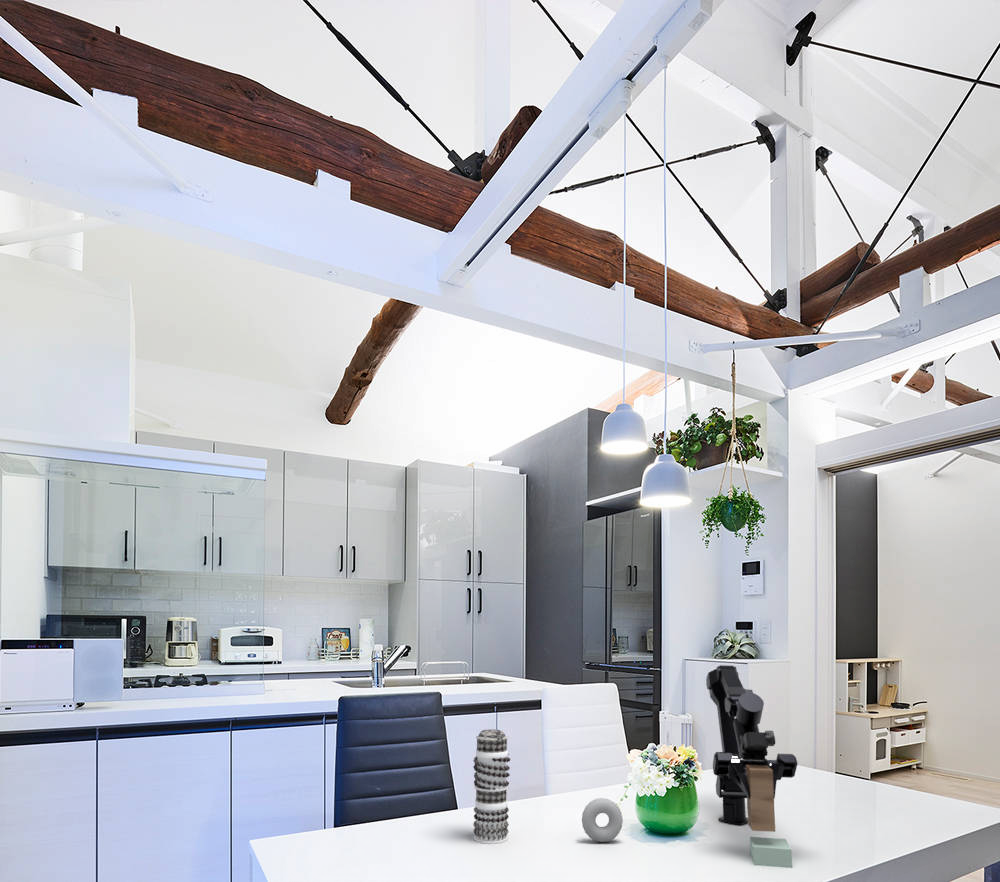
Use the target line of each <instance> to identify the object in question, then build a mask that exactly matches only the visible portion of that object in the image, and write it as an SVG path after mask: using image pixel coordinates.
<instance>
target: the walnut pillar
mask: <svg viewBox="0 0 1000 882" xmlns="http://www.w3.org/2000/svg"><path fill="white" fill-rule="evenodd" d="M746 780H747V783H748V786H749V790H750V799H748V797H747V798H746V805H747V807H746V810H747V813H746V814H747V818H748V822H747V825H748V827H749V828H750V830H752V831H754V832H772V833H773V832H776V816H775V798H774V789H773V770H772V769H771V768H770V767H769V766H764V765H746Z"/></svg>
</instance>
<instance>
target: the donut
mask: <svg viewBox="0 0 1000 882" xmlns="http://www.w3.org/2000/svg"><path fill="white" fill-rule="evenodd" d="M600 814H605V815H607V817H608V823H607V824H606V825H604V826H600V825H598V824H597V822H596V818H597V816H599V815H600ZM623 820H624V819H623V815H622V811H621V809H620V806H618V805H617V804H616V803H615V802H614V801H612V800H611V799H609V798H604V797H600V798H594V799H592V800H591V801H589V802H588V803H587V804H586V806H585V807H584V809H583V811H582V817H581V824H582V828H583V830H584V833H585V834H586V835H587V836H588V837H589V838H590V839H592V840H593V841H595V842H598V843H608V842H610V841H612V840H614V839H616V837H618V835H619V834H620V832H621V830H622V827H623V822H624V821H623Z"/></svg>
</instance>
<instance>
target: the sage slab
mask: <svg viewBox="0 0 1000 882" xmlns="http://www.w3.org/2000/svg"><path fill="white" fill-rule="evenodd" d="M749 850H750V851H749V852H750V856H751V859H752V863H753V865H754V866H762V867H774V868H775V867H777V868H790V869H792V868H793V862H792V861H793V860H792V859H793V858H792V848H791V847H790V844H789V842H788V840H787V838H776V837H775V838H773V837H761V836H760V837H759V836H749Z"/></svg>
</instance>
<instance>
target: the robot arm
mask: <svg viewBox="0 0 1000 882" xmlns="http://www.w3.org/2000/svg"><path fill="white" fill-rule="evenodd" d="M705 681H706V683H705V684H706V689H707V690H708V691H709V697H710V699H711V700H712V701H713V703H714V705H715V706H716V708H717V717H718V725H719V734H720V742H721V751H716V752H714V755H713V760H712V772H713V775H714V776H716V781H715V794H716V795H717V797H718V798H720V799H721V798H722V814H723V815H722V816H721V817H719V818H718V821H720V822H724V823H727V824H733V825H738V826H742V825H745V824H748V817H747V816H746V815H747V813H746V799H747V797H748V799H750V790H749V786H748V783H747V780H746V765H764V766H769V767H770V768H771V769H772V770H773V789H774V799H775V798H776V792H777V791H776V788H777V781H780V780H782V778H787V779H788V778H789V779H790V778H794V777H795V775H796V771H797V767H798V760H797V757H796V756H795V755H794V754H793V753H777V756H776V759H767V758H766V757H767V756H768V754H769V753H768V748H769V747H774V746H775V745H776V736H775V733H774V730H765V731H764V732H760V729H759V725H760V723H761V721H762V720H761V719H762V715H763V711H764V705H765V703H764V699H762V697H761V696H759V695H758V694H756V693H754V692H753V691H754V690H753V689H746V688H744V686H743V684H742V681H741V680H740V677H739V672H738V669H737V667H736V666H734V665H725V664H724V665H718V666H716V668H715V669H713V670H711V671H709V672H707V675H706V679H705Z"/></svg>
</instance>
